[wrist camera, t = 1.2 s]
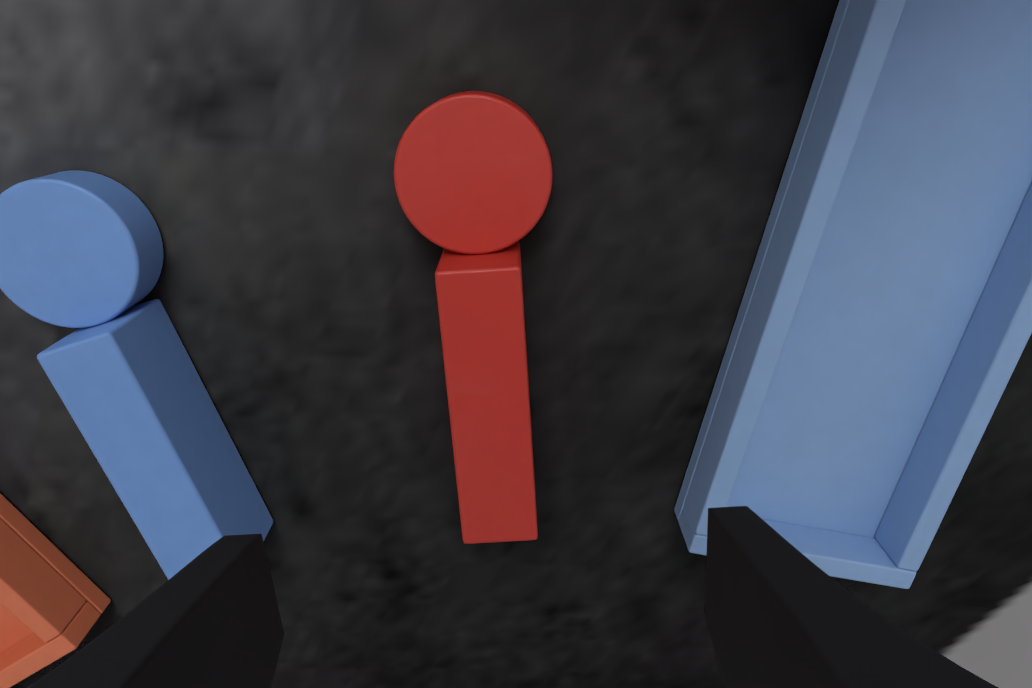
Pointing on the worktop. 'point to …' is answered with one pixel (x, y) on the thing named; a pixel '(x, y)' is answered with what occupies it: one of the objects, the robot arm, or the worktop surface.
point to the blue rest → (880, 291)
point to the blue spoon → (125, 361)
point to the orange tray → (39, 599)
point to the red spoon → (481, 291)
